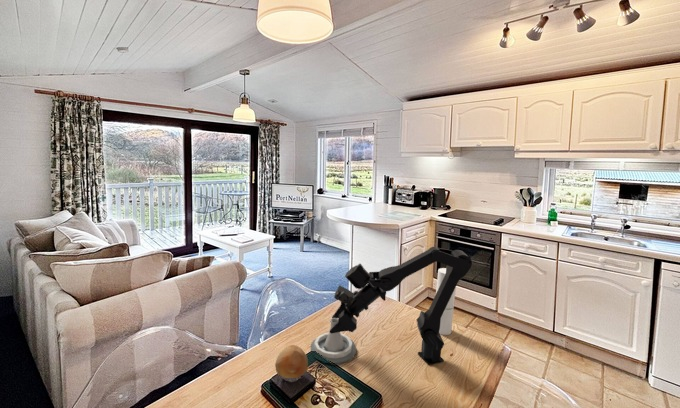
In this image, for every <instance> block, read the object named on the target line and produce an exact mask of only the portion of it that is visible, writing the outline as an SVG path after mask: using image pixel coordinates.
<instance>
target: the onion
mask: <svg viewBox="0 0 680 408" xmlns="http://www.w3.org/2000/svg"><path fill="white" fill-rule="evenodd" d="M308 364H309V363H308V355H307V354H306V353H305V351H304V350H303V349H302V348H301V347H299V346H298V345H295V344H294V345H293V344H292V345H288V346H286V347H284V348H283V349H282V350H281V351H280V352H279V353H278V356H277V357H276V361H275V365H274V366H275V371H276V374H277V376H279V375H280V376H282V377H284V378H297V377H300V376H301V375H303V374H304V373H305V372H306V373H307V371H308V367H309V365H308ZM306 373H305V374H306ZM305 374H304V375H305Z"/></svg>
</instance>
